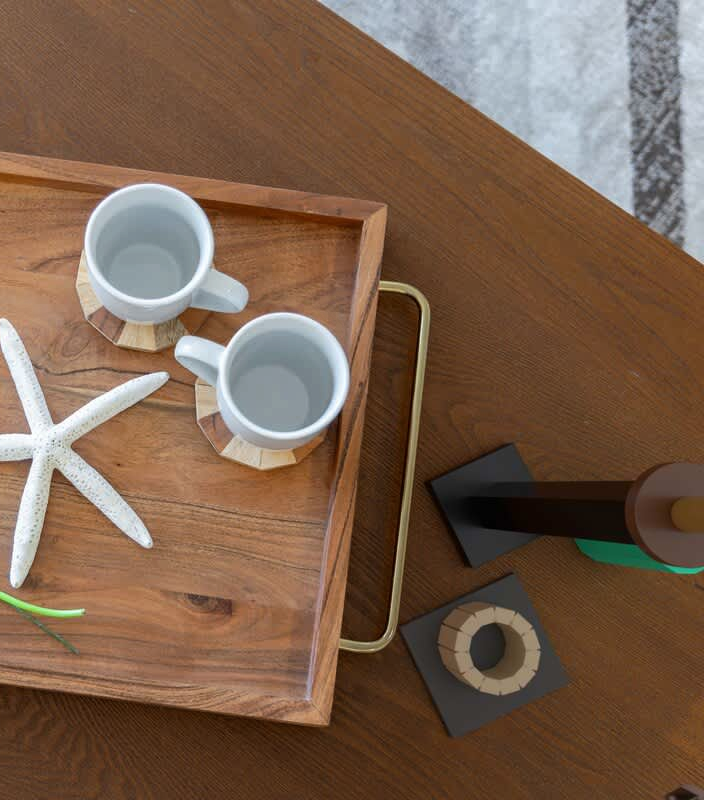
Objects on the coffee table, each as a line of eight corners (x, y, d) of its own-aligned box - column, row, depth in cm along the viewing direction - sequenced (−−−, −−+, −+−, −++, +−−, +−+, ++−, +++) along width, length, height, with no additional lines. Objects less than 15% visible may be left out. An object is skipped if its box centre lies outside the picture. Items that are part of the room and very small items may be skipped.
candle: (563, 551, 75) (650, 563, 63) (579, 483, 76) (669, 483, 64) (631, 571, 75) (731, 587, 63) (647, 504, 76) (750, 507, 64)
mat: (567, 681, 74) (570, 682, 74) (450, 737, 74) (453, 739, 73) (512, 571, 75) (516, 572, 74) (397, 626, 75) (399, 627, 74)
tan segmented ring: (530, 671, 74) (551, 680, 70) (453, 695, 73) (471, 705, 70) (503, 592, 74) (523, 597, 71) (427, 615, 74) (443, 621, 71)
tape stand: (548, 528, 75) (857, 556, 45) (465, 567, 75) (719, 623, 44) (506, 443, 76) (781, 414, 45) (423, 481, 76) (644, 479, 45)
